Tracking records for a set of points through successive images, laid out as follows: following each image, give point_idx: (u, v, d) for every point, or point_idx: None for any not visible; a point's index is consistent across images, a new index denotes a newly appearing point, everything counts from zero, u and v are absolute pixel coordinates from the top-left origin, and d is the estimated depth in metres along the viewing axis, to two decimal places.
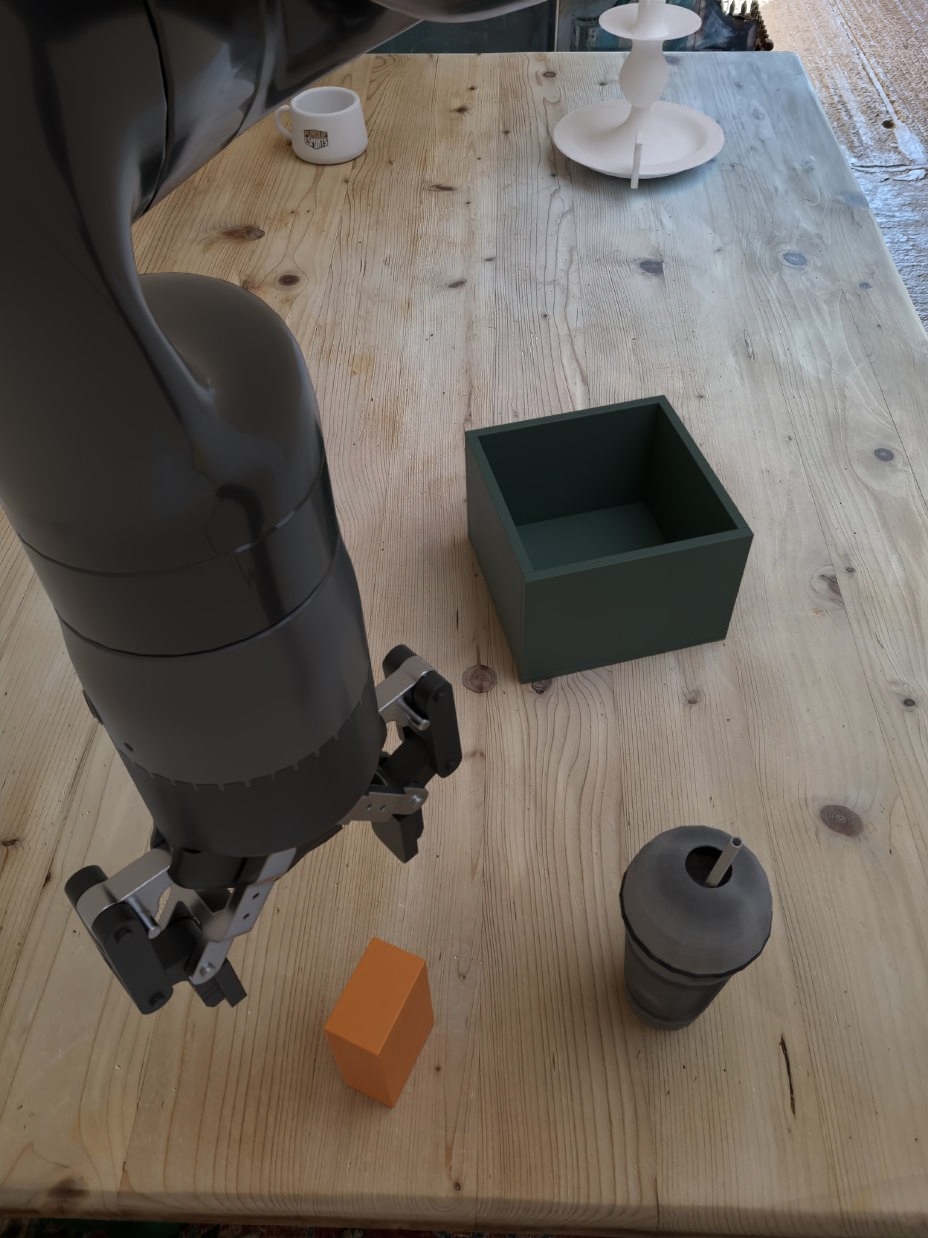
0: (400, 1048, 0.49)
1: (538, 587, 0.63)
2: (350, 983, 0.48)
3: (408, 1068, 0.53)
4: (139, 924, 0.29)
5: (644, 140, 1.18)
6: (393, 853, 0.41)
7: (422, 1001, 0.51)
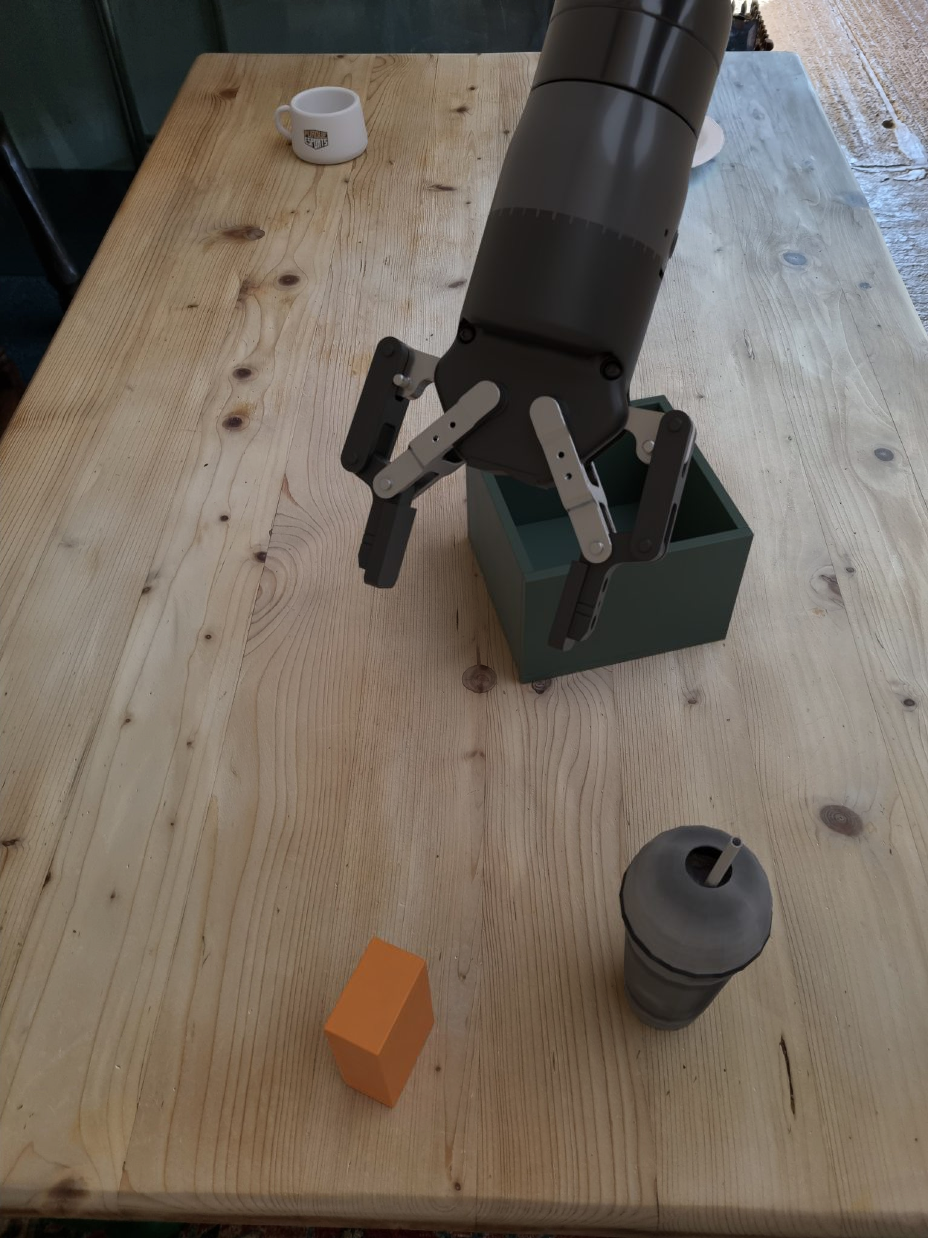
0: (400, 1048, 0.49)
1: (538, 587, 0.63)
2: (350, 983, 0.48)
3: (408, 1068, 0.53)
4: (399, 353, 0.41)
5: None
6: None
7: (422, 1001, 0.51)
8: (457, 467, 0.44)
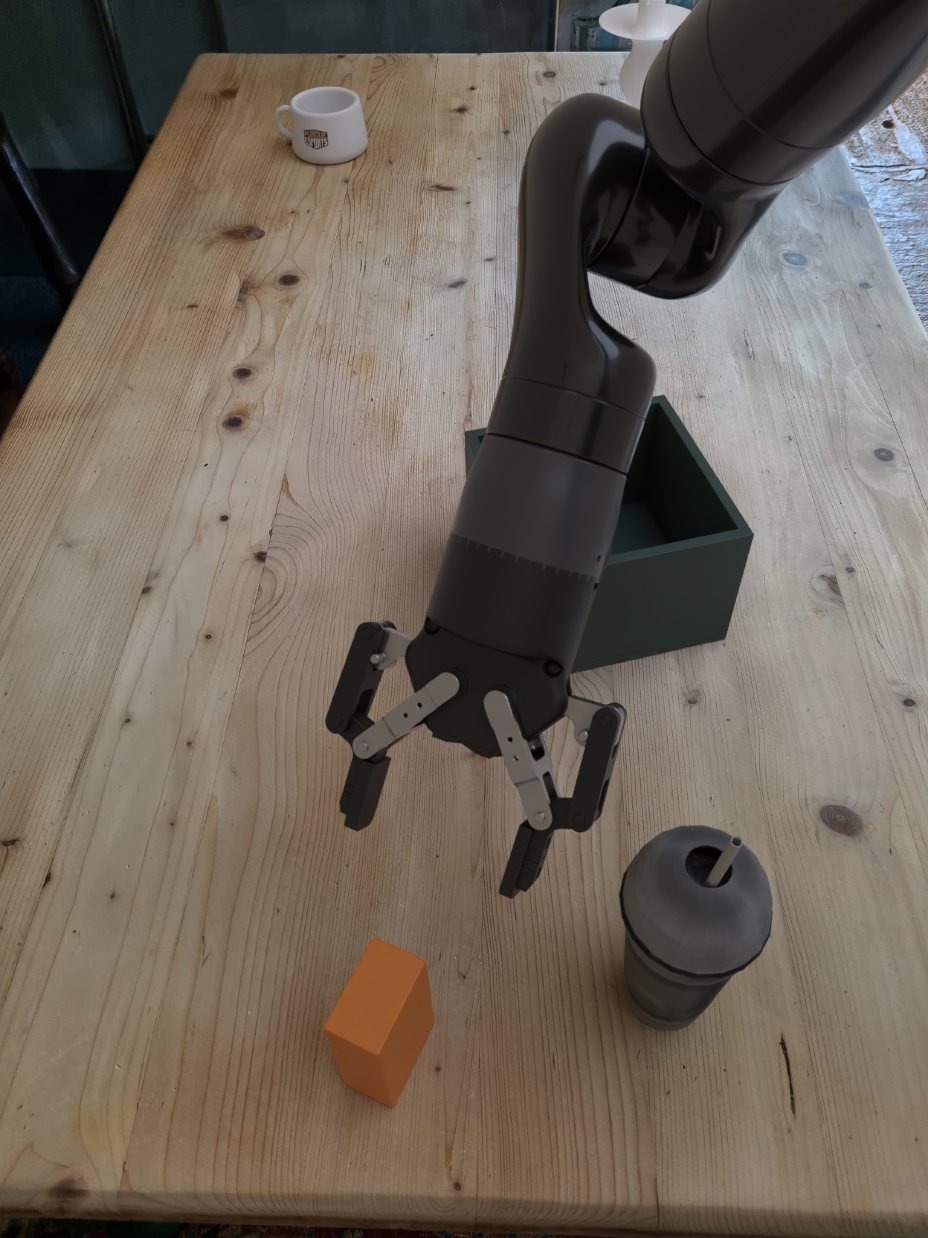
0: (400, 1048, 0.49)
1: None
2: (350, 983, 0.48)
3: (408, 1068, 0.53)
4: (376, 638, 0.49)
5: None
6: None
7: (422, 1001, 0.51)
8: None
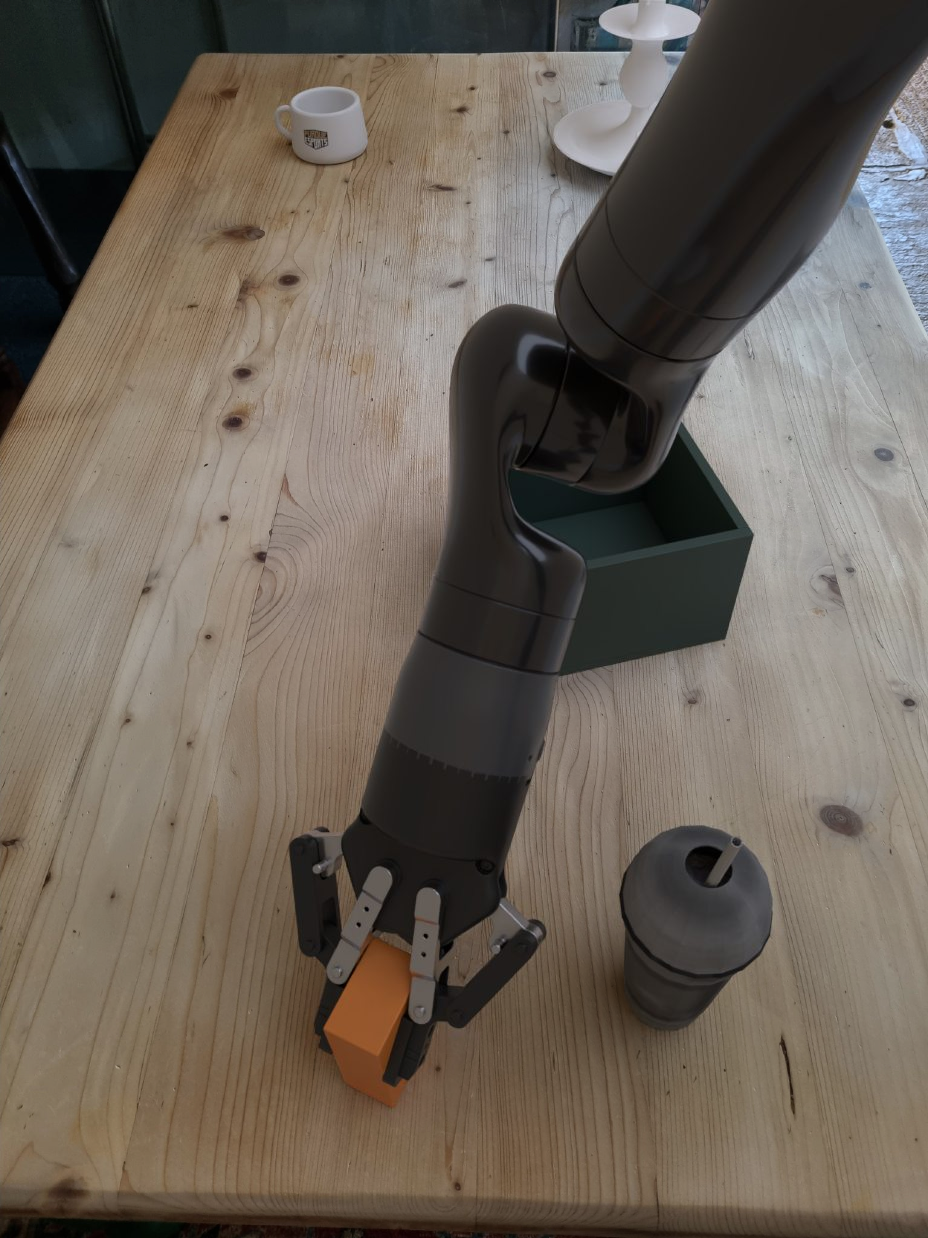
0: None
1: None
2: (350, 983, 0.48)
3: None
4: (309, 849, 0.49)
5: None
6: None
7: None
8: None
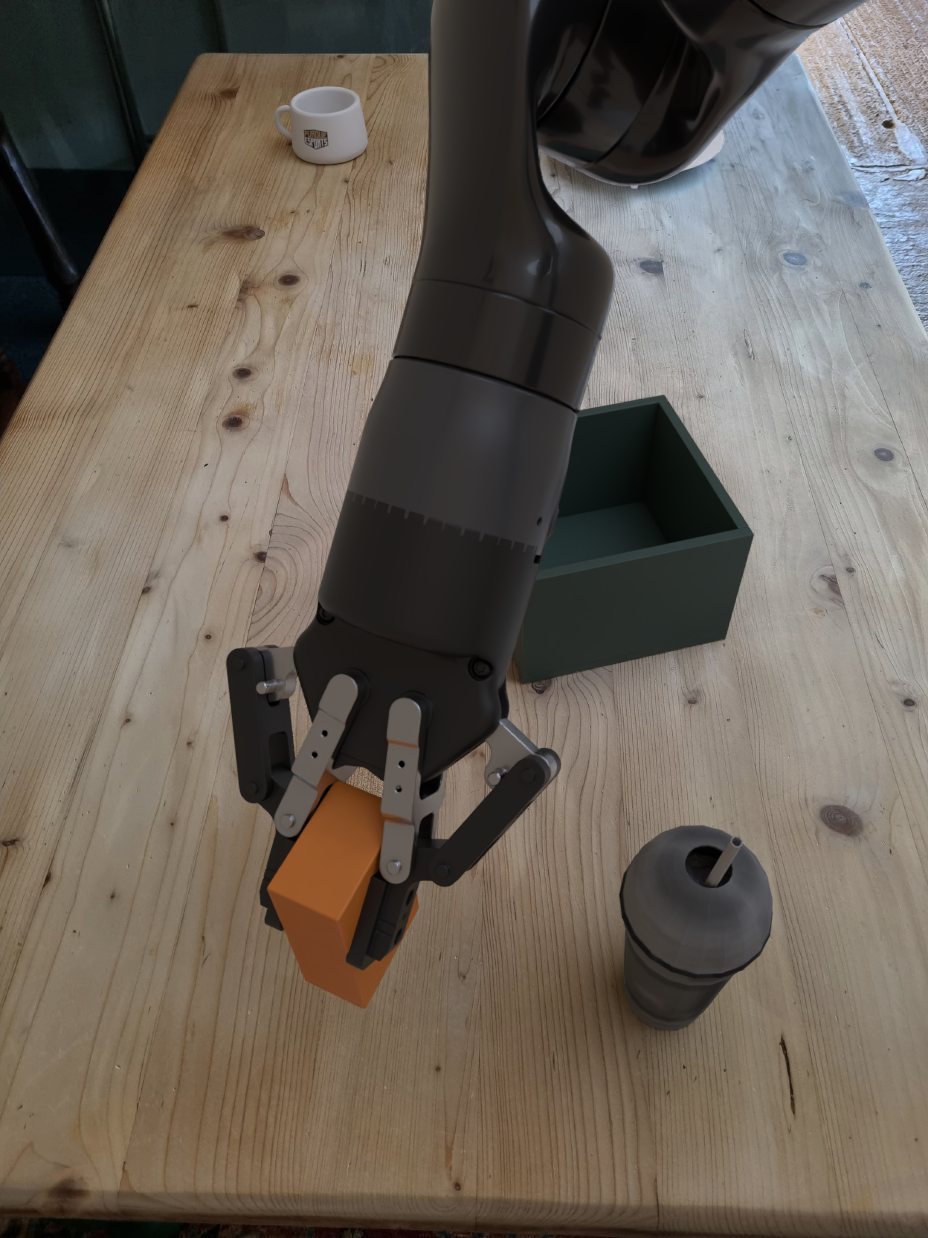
0: None
1: (538, 587, 0.63)
2: (304, 834, 0.37)
3: (384, 959, 0.41)
4: (251, 662, 0.37)
5: None
6: None
7: None
8: None
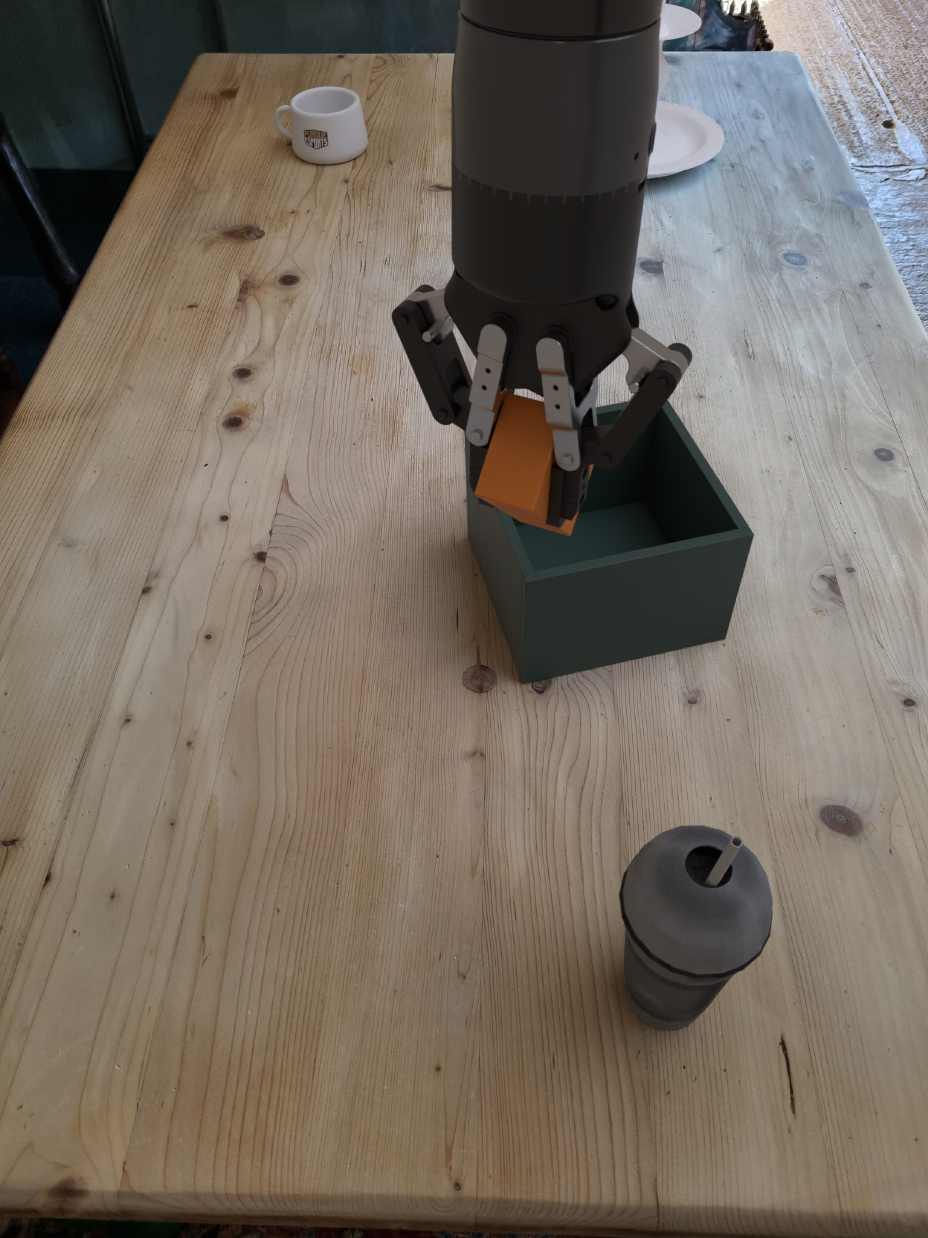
0: None
1: (538, 587, 0.63)
2: (491, 445, 0.46)
3: None
4: (412, 317, 0.44)
5: None
6: None
7: None
8: None
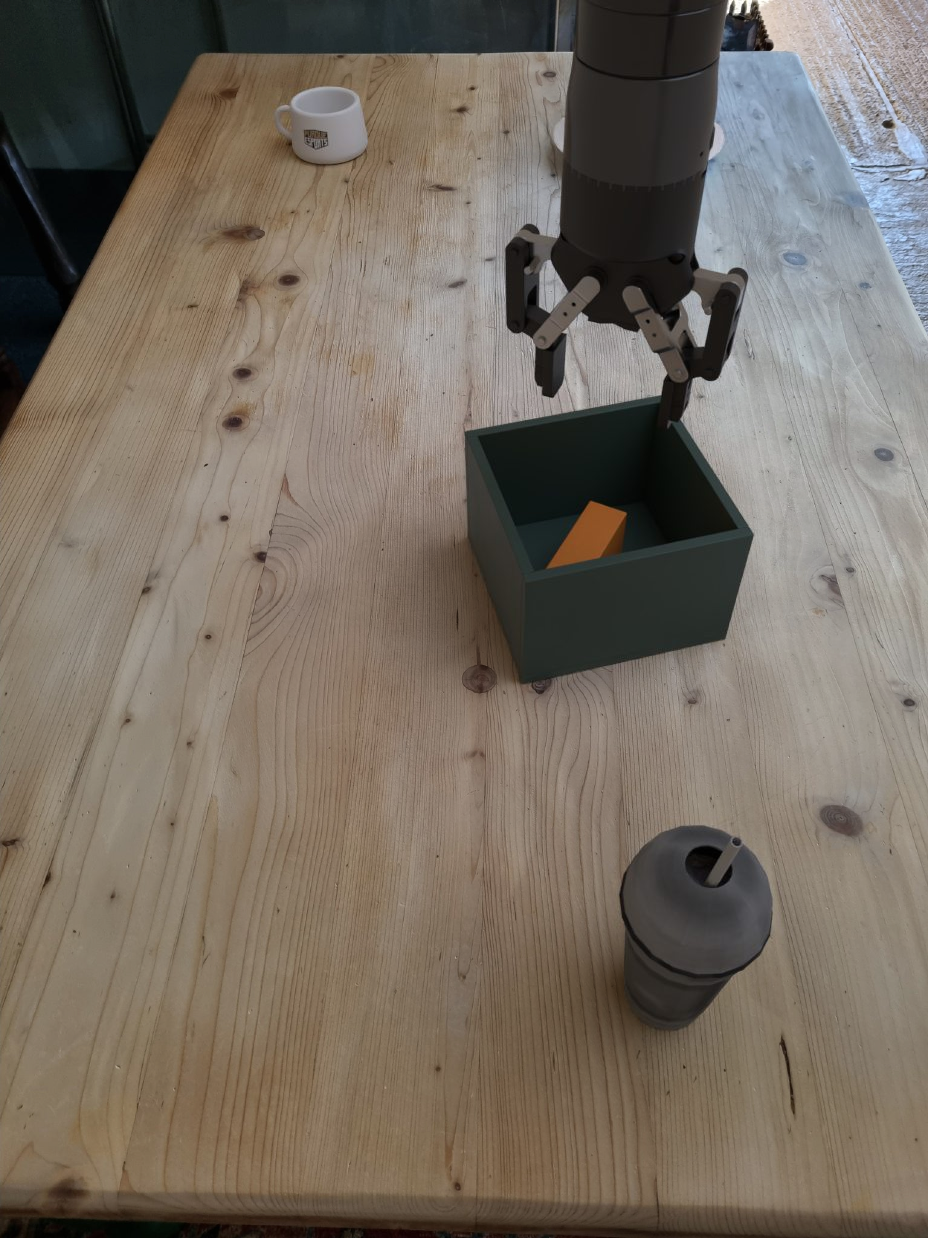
0: None
1: (538, 587, 0.63)
2: None
3: (617, 551, 0.75)
4: (522, 254, 0.57)
5: None
6: None
7: None
8: None
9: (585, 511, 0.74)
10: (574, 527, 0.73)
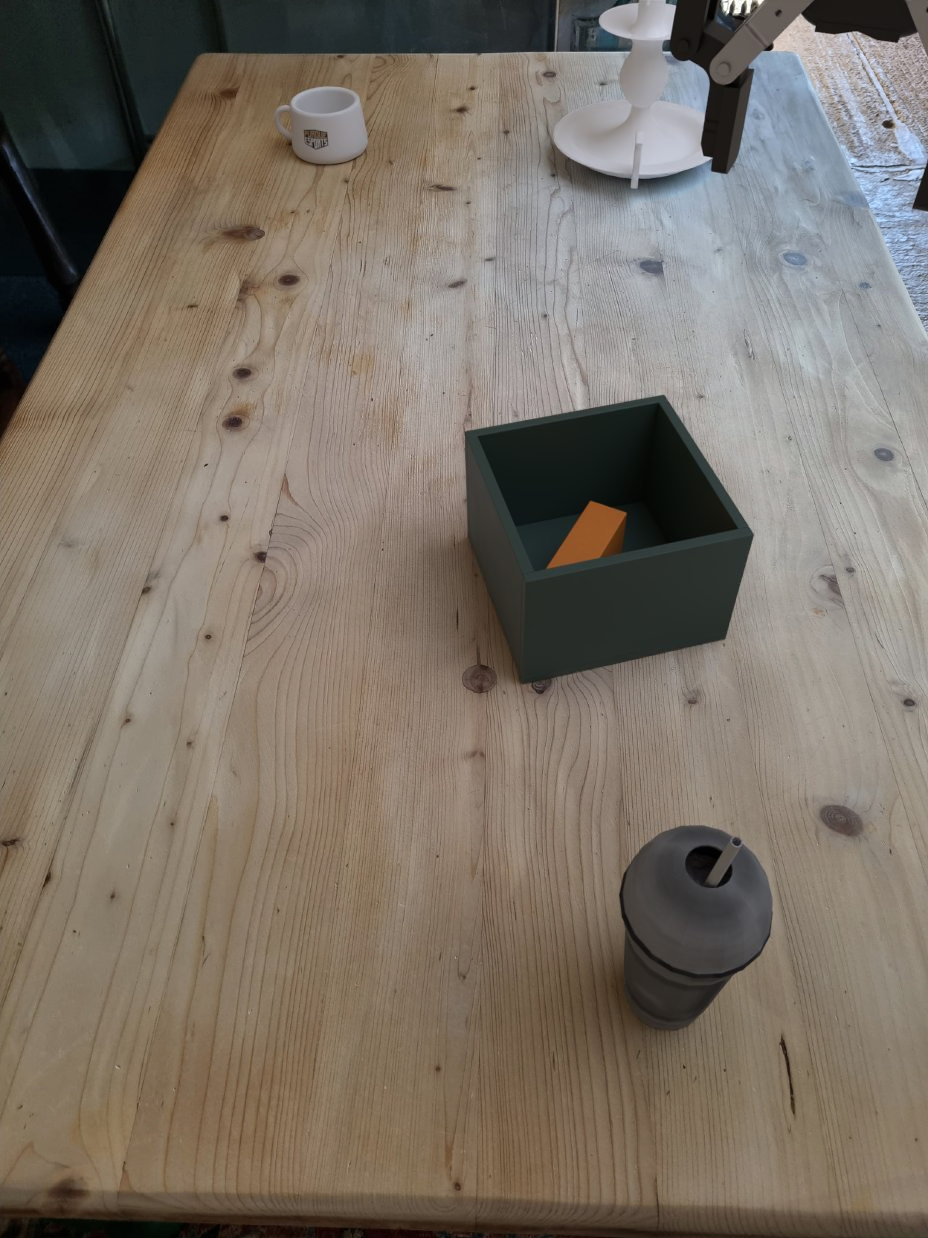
0: None
1: (538, 587, 0.63)
2: None
3: (617, 551, 0.75)
4: None
5: (644, 140, 1.18)
6: None
7: None
8: None
9: (585, 511, 0.74)
10: (574, 527, 0.73)
